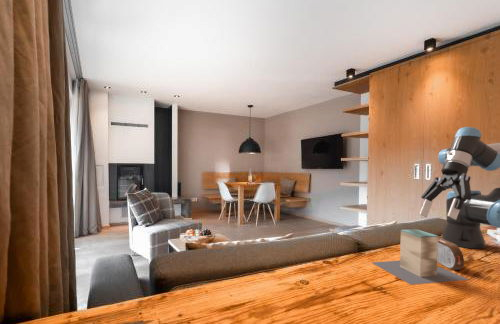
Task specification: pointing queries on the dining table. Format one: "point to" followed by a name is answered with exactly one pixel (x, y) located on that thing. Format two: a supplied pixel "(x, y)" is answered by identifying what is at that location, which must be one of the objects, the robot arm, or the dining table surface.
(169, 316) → the dining table surface
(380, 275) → the dining table surface
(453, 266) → the tin
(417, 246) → the block
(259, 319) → the dining table surface
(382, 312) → the dining table surface
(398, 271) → the mat
